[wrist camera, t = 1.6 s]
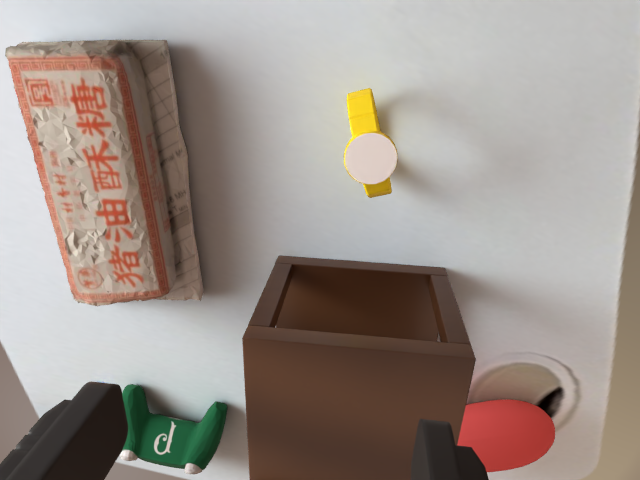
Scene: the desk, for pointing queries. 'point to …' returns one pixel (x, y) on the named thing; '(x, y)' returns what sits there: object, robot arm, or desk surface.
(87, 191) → the packaged product
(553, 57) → the desk surface
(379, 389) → the box
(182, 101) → the desk surface
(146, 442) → the gaming controller
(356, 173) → the watch
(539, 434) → the red kidney bean
